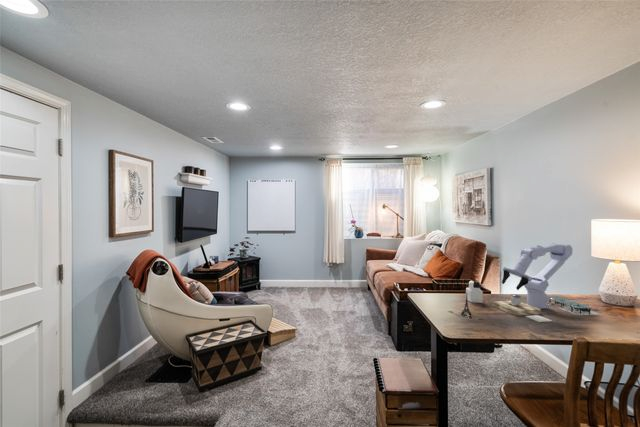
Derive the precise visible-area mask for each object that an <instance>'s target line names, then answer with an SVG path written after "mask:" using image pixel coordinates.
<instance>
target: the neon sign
mask: <svg viewBox="0 0 640 427" xmlns="http://www.w3.org/2000/svg"><path fill="white" fill-rule="evenodd" d="M548 298H549V301H548V303H549V304H550V305H551V303H552V301H554V303H555V304H561V307H559V308H558V309H559V310H562V311H565V312H568V313H571V314H573V315H578V316H595V315H600V313H599V312H597V309H595V308H594V309H593V308H592V306H591V305H588V304H584V303H580V302H577V301H573V300H570V299H569V300H568V298H563V297H558V296H557V297H548ZM564 303H565V304H564ZM566 303H569V304H566ZM549 304H547V306H550V305H549ZM562 305H563V306H564V305H570V306H567V307H566V306H565V307H562ZM592 309H593V310H594V311H593V310H592ZM607 310H611V308H607V309H606V311H607Z"/></svg>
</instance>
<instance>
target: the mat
mask: <svg viewBox="0 0 640 427" xmlns="http://www.w3.org/2000/svg"><path fill="white" fill-rule="evenodd" d="M524 317H525V318H527V319H529V320H530V319H531V320H532V321H535V322H537V323H548V322H553V320H552V319H549V318H547V317H544V316H541V315H540V314H533V315H524Z"/></svg>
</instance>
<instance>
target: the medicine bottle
mask: <svg viewBox="0 0 640 427" xmlns="http://www.w3.org/2000/svg"><path fill="white" fill-rule="evenodd" d="M466 293H467V301H468V302H469V303H477V304H479V303H480V304H482V303H483V299H484V298H483V295H484V291H483V290H481V282H480V281H477V280H470V281H469V282H468V287H466V288H465V294H466Z"/></svg>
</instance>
